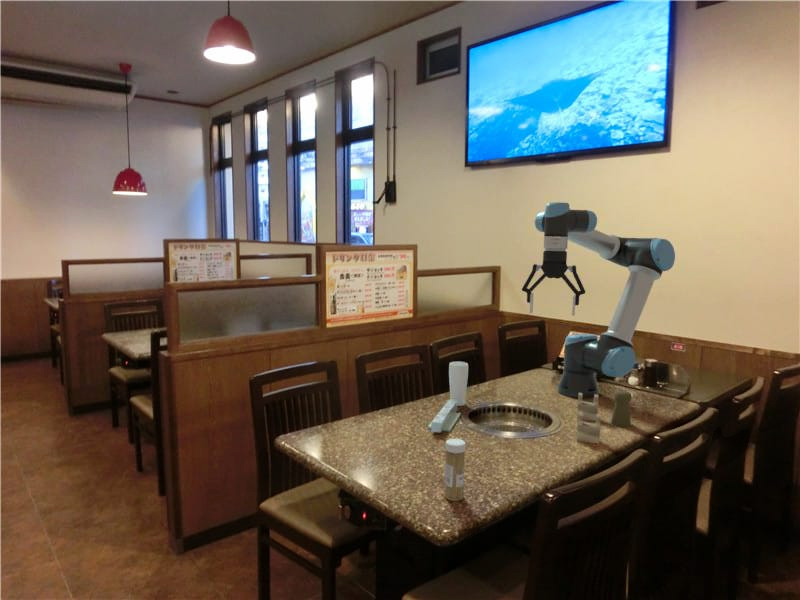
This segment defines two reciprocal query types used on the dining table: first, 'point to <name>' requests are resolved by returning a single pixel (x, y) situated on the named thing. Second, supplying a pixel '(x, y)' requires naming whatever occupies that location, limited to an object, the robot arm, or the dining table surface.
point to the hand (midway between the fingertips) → (551, 313)
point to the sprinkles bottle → (454, 469)
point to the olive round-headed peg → (621, 409)
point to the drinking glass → (458, 381)
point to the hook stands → (588, 411)
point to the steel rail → (444, 416)
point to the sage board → (450, 422)
